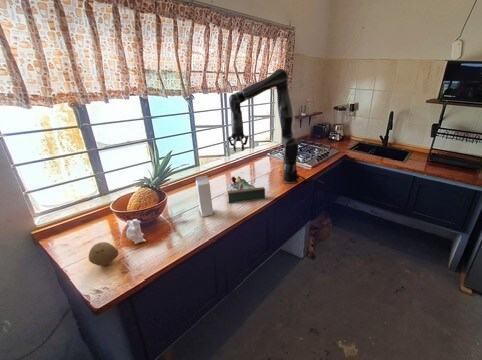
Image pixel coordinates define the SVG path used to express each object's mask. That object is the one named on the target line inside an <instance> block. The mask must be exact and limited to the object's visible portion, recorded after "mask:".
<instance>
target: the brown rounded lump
mask: <svg viewBox="0 0 482 360" xmlns="http://www.w3.org/2000/svg"><path fill="white" fill-rule="evenodd" d="M118 256H119V250H118V249H117V248H116V247H115V246H114V245H112V244H111V243H110V242H107V241H101V242H98V243H95V244H94V245H93V246H92V247H91V248H90V250H89V252H88V261H89V262H90V263H91V264H93V265H96V266H99V267H107V266H109V265H110V264H111V263H112V262H113V261H114V260H116V258H118Z"/></svg>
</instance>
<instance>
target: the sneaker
mask: <svg viewBox="0 0 482 360" xmlns="http://www.w3.org/2000/svg"><path fill="white" fill-rule="evenodd" d="M230 180H231V181H230V190H231V191H235V190H243V189H252V188H256V186H254V185H252V184H250V183H249V182H248V181H247V180H246V179H245V178H241V176H240V175H238V176H237V177H235V176H231V178H230Z"/></svg>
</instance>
